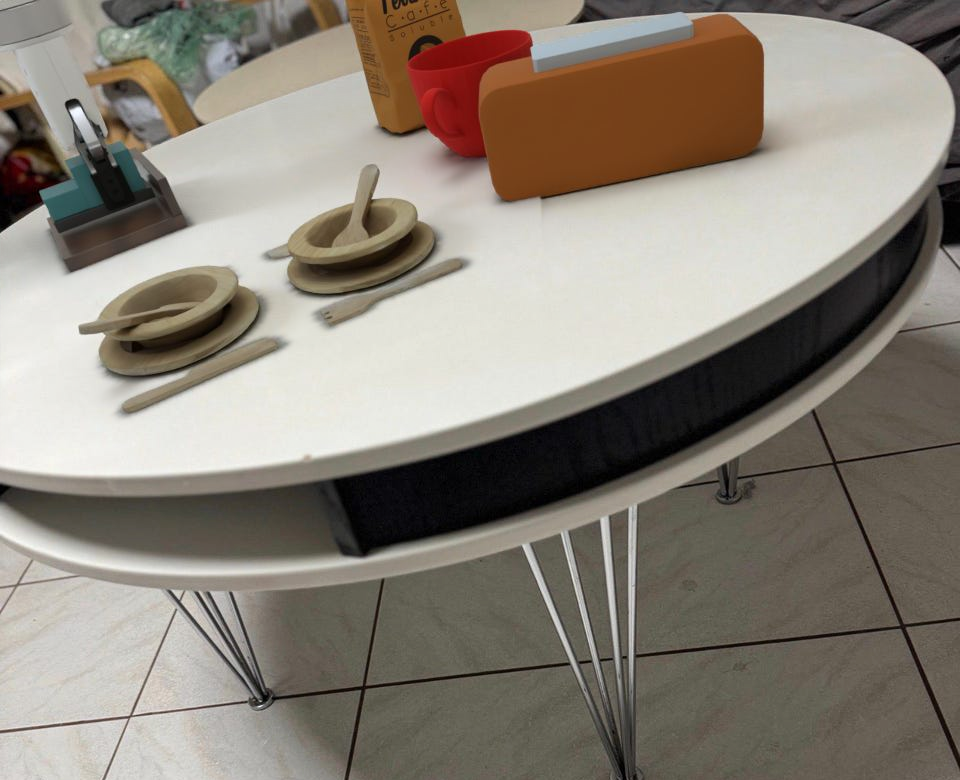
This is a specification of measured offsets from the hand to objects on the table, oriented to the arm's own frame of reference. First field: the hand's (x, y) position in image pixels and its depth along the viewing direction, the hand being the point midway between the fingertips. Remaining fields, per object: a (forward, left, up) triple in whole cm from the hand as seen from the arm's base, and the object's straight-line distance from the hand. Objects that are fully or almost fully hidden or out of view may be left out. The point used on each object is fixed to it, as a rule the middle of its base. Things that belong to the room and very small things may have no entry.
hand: (117, 198), depth 92 cm
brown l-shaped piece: (-1, -1, -3) cm, 4 cm away
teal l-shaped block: (-2, -1, -1) cm, 2 cm away
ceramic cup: (+41, 0, -4) cm, 41 cm away
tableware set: (+24, -26, -3) cm, 36 cm away
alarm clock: (+55, -11, -4) cm, 56 cm away
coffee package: (+34, +17, -4) cm, 38 cm away
